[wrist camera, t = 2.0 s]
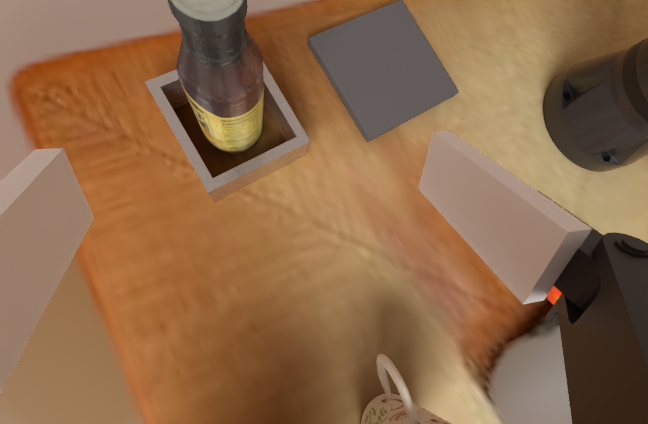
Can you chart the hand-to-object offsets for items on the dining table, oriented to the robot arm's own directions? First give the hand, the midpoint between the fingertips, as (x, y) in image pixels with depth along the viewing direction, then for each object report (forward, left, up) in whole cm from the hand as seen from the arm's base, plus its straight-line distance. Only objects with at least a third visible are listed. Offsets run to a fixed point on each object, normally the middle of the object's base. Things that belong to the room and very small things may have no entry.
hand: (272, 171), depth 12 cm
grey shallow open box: (-3, -11, -23) cm, 26 cm away
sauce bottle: (-3, -11, -23) cm, 26 cm away
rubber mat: (-23, -10, -23) cm, 34 cm away
